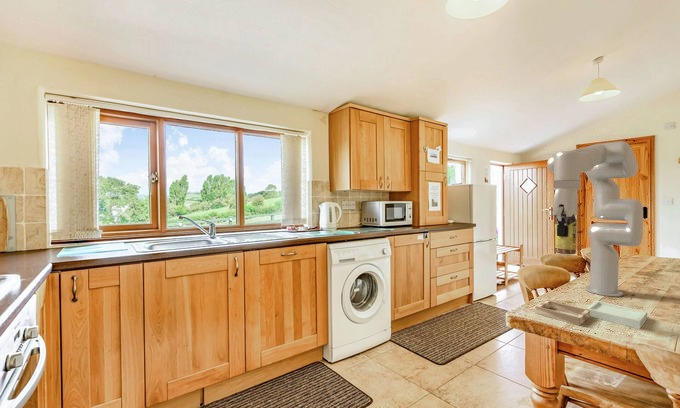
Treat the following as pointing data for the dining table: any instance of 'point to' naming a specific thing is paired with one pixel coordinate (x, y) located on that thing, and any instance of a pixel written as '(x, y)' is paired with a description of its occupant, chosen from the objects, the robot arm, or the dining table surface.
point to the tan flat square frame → (582, 313)
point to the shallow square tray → (617, 314)
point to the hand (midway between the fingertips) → (565, 235)
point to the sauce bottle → (567, 238)
